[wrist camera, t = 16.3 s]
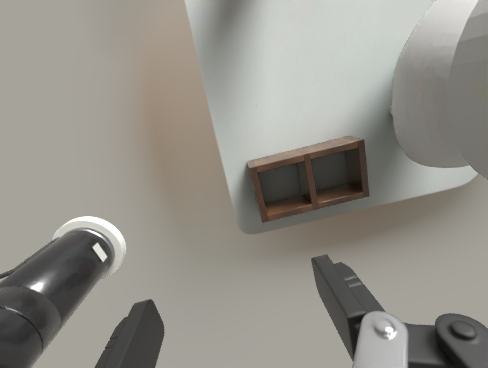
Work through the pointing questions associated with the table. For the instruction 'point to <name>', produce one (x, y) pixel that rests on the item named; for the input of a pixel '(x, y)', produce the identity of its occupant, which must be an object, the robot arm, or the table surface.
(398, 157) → the table surface
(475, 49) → the table lamp
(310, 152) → the rack
